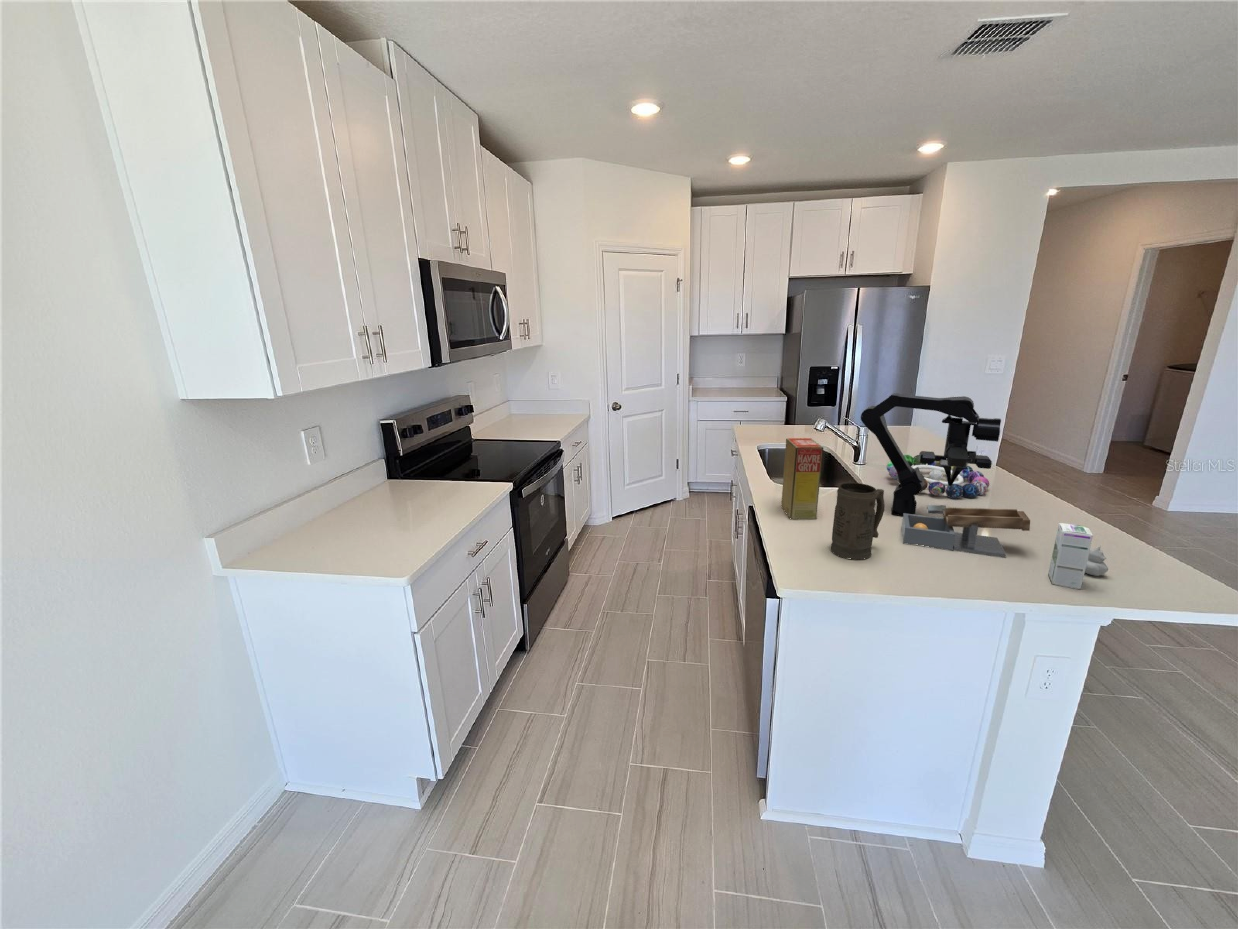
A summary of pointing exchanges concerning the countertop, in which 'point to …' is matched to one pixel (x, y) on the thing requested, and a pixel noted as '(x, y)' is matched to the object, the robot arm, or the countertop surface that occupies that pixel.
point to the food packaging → (801, 478)
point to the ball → (920, 526)
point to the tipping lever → (982, 517)
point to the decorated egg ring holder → (938, 487)
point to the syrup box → (1070, 555)
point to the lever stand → (977, 543)
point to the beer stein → (856, 520)
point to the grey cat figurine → (1096, 563)
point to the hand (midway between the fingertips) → (949, 485)
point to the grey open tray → (927, 531)
